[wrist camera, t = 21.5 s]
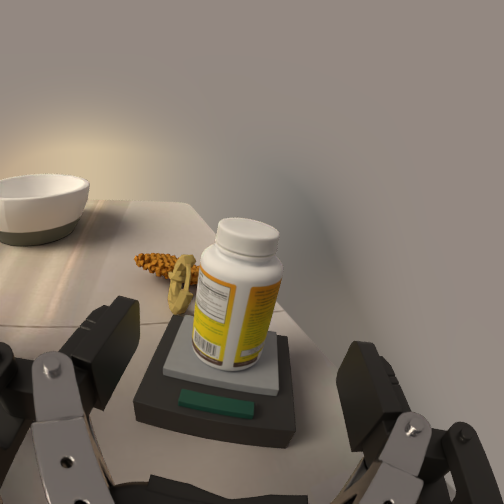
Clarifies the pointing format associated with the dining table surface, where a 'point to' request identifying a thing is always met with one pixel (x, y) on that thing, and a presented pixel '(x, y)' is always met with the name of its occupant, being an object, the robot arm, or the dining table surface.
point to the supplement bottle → (236, 294)
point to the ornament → (173, 276)
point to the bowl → (40, 207)
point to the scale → (218, 392)
